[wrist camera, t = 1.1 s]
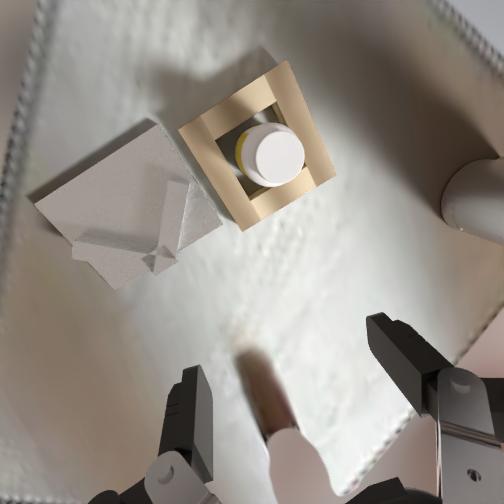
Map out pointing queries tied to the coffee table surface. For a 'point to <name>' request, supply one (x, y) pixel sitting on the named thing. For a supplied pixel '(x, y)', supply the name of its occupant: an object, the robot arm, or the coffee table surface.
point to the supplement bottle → (269, 154)
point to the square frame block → (236, 112)
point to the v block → (132, 210)
